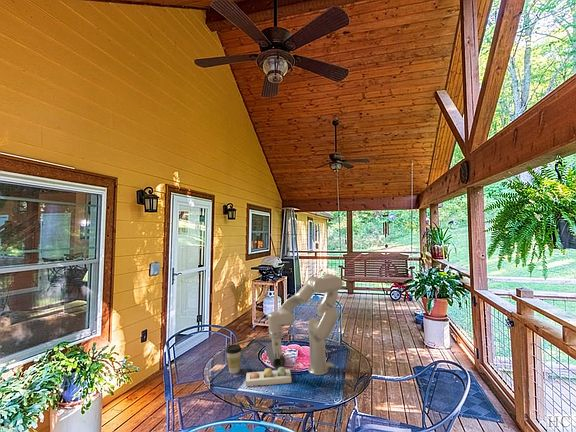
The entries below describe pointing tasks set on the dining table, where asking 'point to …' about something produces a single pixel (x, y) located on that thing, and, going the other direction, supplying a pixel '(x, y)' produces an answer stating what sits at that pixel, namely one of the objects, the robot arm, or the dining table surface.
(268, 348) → the bluetooth speaker
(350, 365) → the dining table surface
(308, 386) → the dining table surface
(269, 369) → the button ochre
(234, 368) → the coffee cup
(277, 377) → the console
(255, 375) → the button terracotta
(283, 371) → the button sage
